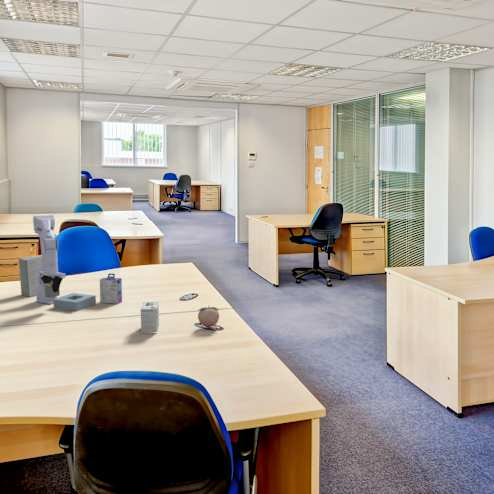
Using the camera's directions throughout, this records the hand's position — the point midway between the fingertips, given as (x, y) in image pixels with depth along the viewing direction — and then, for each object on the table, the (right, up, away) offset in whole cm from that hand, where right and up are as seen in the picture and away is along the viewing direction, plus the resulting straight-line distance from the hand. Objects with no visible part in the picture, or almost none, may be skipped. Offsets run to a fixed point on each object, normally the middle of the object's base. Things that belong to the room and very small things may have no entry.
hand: (52, 291), depth 246 cm
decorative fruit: (+76, -14, -23) cm, 81 cm away
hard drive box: (-21, -4, +34) cm, 40 cm away
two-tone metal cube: (0, -2, 0) cm, 2 cm away
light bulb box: (+51, -14, -26) cm, 59 cm away
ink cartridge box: (+23, -7, +17) cm, 30 cm away
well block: (+7, -8, +10) cm, 15 cm away
